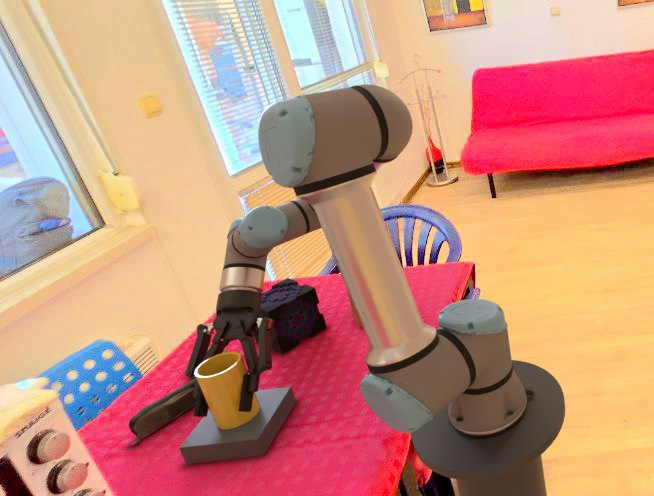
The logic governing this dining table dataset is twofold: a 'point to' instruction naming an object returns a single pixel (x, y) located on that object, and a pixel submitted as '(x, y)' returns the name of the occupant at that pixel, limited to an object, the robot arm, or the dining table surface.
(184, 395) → the dark pencil case
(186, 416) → the dining table surface
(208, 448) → the grey block
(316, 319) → the energy cube
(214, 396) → the yellow cup
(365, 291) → the robot arm
